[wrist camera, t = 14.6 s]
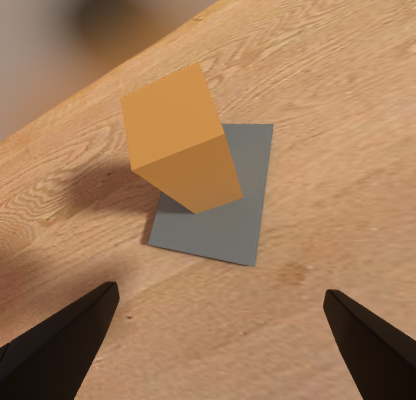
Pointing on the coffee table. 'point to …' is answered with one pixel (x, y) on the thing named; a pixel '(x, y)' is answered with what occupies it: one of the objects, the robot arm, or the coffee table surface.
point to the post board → (222, 206)
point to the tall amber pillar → (180, 141)
